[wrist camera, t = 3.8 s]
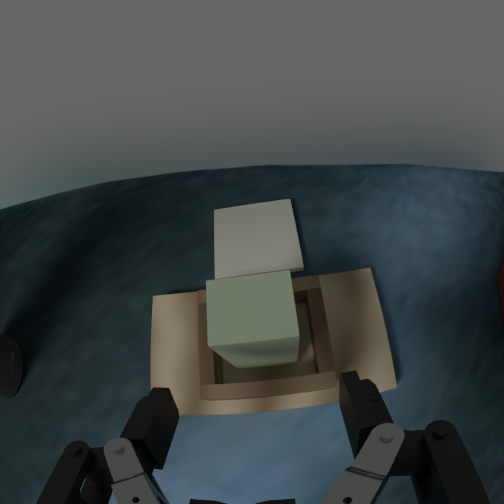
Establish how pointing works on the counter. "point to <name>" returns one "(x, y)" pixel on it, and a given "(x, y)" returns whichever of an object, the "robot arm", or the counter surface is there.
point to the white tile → (256, 240)
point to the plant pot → (501, 287)
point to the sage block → (253, 320)
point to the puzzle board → (283, 376)
